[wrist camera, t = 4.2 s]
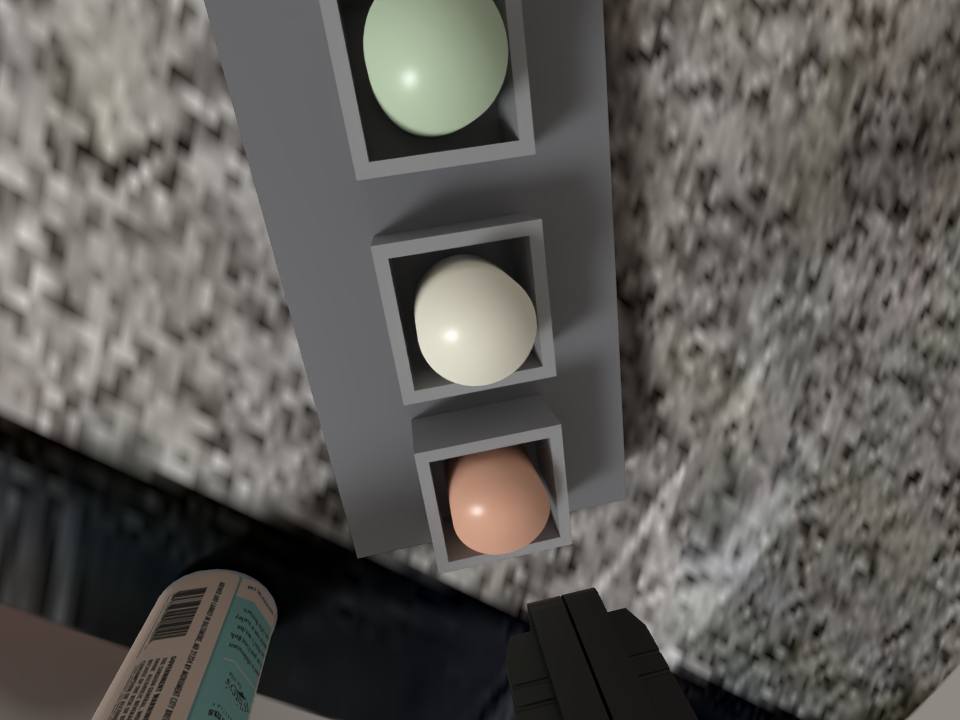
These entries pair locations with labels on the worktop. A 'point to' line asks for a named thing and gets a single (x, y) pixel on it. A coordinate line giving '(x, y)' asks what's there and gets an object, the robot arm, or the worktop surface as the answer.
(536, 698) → the robot arm
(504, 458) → the terracotta button
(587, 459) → the grey boxy piece
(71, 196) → the worktop surface
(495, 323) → the cream button
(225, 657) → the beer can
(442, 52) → the sage button
